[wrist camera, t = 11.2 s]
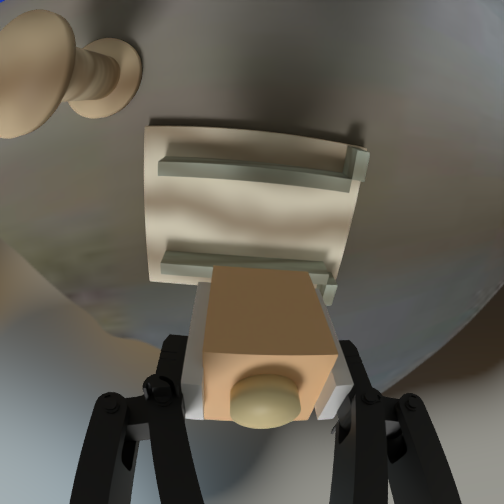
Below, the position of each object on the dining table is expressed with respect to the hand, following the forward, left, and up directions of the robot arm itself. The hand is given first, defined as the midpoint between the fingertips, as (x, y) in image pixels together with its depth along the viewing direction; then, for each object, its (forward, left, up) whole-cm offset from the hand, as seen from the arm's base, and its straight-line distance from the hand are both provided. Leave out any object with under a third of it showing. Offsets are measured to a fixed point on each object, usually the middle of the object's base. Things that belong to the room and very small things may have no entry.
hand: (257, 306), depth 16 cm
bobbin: (-13, -15, -14) cm, 24 cm away
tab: (0, 0, 0) cm, 0 cm away
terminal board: (0, 0, -14) cm, 14 cm away
